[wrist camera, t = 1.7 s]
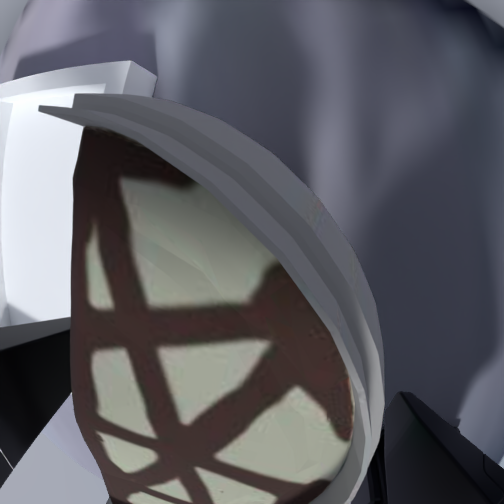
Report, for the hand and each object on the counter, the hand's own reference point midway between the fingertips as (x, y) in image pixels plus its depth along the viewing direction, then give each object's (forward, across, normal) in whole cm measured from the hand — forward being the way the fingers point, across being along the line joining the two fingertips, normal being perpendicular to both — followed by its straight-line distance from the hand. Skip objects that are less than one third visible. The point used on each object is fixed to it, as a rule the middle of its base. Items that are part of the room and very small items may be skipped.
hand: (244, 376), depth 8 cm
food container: (+6, 0, 0) cm, 6 cm away
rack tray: (+6, +13, 0) cm, 14 cm away
